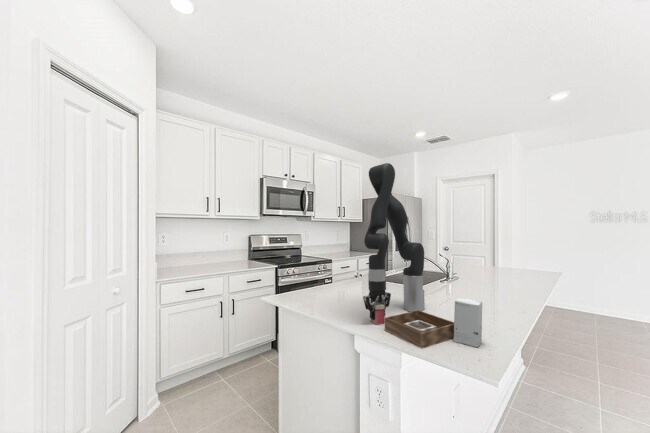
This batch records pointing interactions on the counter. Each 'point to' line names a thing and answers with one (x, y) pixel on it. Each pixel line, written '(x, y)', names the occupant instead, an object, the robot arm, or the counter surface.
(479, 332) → the skincare box
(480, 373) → the counter surface
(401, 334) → the crate
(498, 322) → the counter surface
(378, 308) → the small box
